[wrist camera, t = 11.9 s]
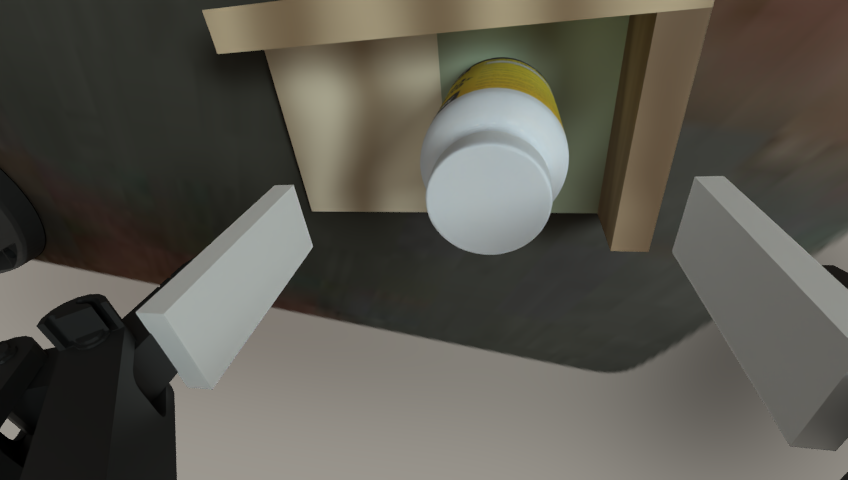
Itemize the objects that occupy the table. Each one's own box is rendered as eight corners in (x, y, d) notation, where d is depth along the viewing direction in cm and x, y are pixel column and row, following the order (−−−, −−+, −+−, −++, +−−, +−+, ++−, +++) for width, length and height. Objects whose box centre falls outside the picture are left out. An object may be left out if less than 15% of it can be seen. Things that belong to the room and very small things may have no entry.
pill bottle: (486, 30, 21) (464, 72, 12) (578, 97, 22) (624, 186, 13) (426, 126, 25) (372, 217, 16) (507, 181, 26) (503, 297, 17)
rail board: (315, 207, 31) (285, 242, 27) (256, 4, 23) (202, 10, 19) (627, 208, 26) (648, 251, 22) (681, -49, 18) (729, -56, 14)
